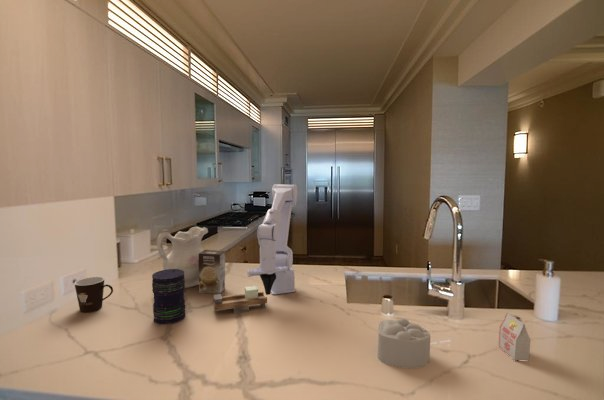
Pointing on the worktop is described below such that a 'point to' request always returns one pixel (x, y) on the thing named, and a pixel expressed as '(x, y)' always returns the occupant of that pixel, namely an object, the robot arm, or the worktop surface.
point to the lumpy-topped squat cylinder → (403, 344)
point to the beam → (238, 302)
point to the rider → (251, 292)
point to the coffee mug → (90, 293)
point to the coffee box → (211, 271)
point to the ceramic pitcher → (183, 253)
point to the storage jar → (168, 296)
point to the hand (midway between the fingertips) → (267, 293)
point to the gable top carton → (514, 338)
